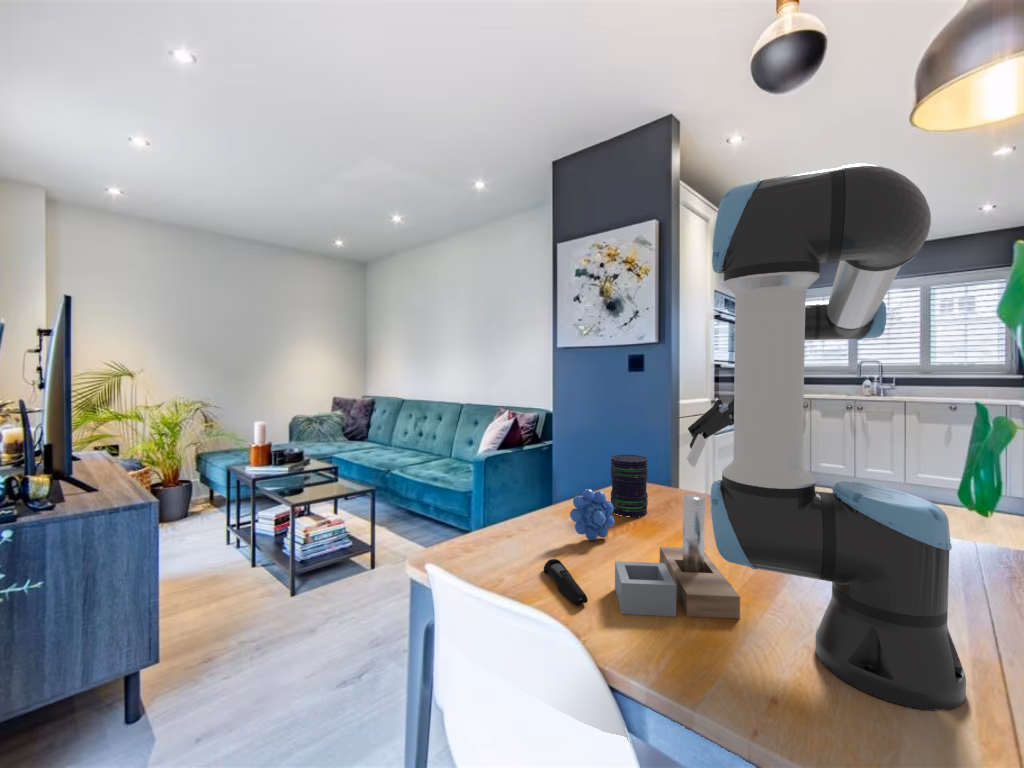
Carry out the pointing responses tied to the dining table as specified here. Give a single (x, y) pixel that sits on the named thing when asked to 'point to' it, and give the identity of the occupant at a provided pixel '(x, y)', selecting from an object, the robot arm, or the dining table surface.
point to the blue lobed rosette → (592, 514)
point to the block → (645, 589)
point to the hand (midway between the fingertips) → (723, 468)
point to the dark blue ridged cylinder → (629, 485)
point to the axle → (693, 533)
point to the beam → (701, 587)
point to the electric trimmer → (565, 581)
